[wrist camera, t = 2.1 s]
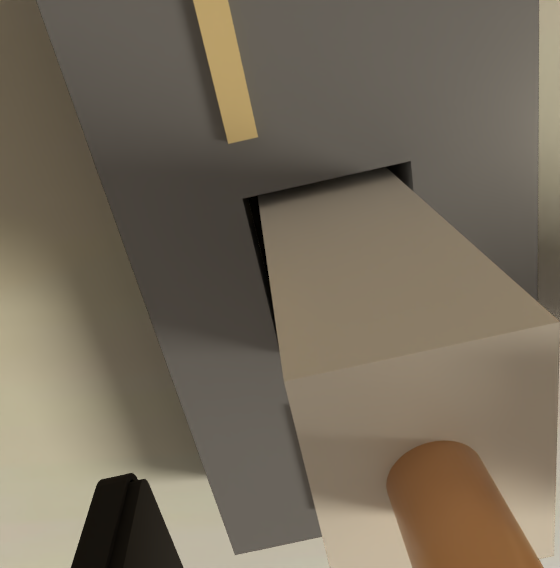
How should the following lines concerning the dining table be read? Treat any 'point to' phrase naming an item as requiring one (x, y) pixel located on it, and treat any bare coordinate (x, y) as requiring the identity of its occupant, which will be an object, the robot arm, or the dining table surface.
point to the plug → (411, 380)
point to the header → (288, 178)
